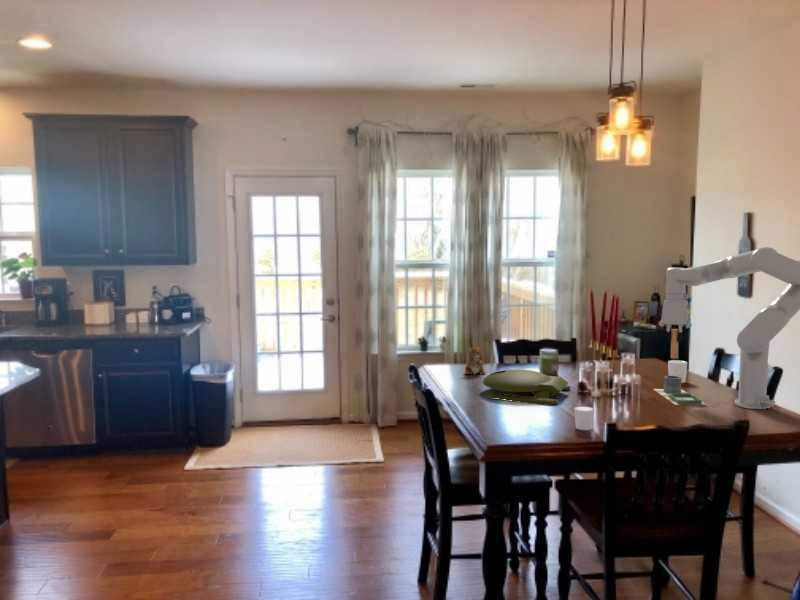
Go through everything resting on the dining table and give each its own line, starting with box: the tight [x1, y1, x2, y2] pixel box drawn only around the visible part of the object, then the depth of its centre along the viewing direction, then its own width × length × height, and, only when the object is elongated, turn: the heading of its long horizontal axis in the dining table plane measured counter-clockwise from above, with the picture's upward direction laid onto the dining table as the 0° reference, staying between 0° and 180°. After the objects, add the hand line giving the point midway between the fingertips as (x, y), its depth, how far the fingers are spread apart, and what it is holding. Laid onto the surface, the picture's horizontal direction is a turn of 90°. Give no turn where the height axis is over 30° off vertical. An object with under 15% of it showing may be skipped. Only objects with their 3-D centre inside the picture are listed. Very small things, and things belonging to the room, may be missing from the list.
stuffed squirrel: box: [464, 347, 486, 375], centre depth 316 cm, size 10×14×13 cm
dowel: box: [670, 328, 679, 360], centre depth 265 cm, size 3×3×12 cm
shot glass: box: [573, 405, 595, 431], centre depth 224 cm, size 7×7×7 cm
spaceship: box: [482, 368, 571, 406], centre depth 274 cm, size 35×31×10 cm
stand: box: [653, 375, 708, 408], centre depth 261 cm, size 26×12×8 cm, turn 177°
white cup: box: [667, 359, 688, 384], centre depth 287 cm, size 8×8×10 cm
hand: (674, 340), depth 265 cm, fingers closed on dowel, 2 cm apart
